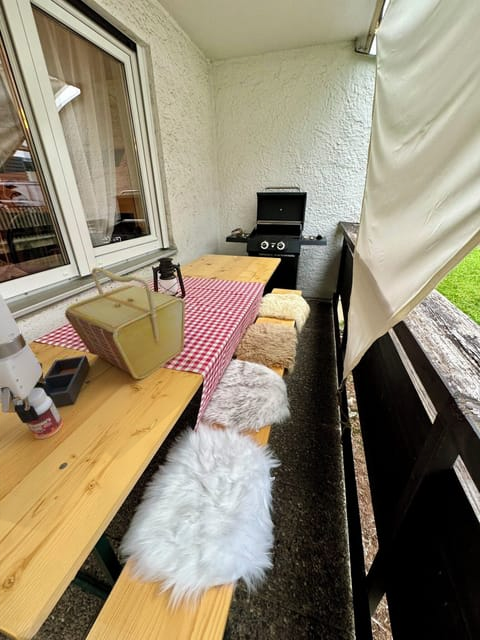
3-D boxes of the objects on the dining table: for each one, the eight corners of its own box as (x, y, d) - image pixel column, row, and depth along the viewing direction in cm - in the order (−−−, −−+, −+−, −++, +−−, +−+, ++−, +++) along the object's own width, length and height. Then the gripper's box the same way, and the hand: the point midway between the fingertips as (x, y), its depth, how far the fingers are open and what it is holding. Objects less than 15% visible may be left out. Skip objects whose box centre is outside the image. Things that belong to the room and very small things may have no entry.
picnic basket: (194, 348, 93) (182, 267, 79) (133, 392, 75) (103, 296, 60) (143, 328, 108) (125, 256, 94) (81, 360, 89) (47, 277, 75)
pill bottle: (33, 444, 61) (11, 410, 55) (35, 425, 65) (15, 392, 60) (63, 431, 63) (45, 398, 58) (63, 415, 68) (46, 382, 63)
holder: (37, 411, 70) (30, 399, 67) (60, 371, 85) (55, 360, 82) (74, 404, 71) (68, 392, 69) (90, 366, 86) (85, 355, 84)
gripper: (4, 328, 59) (36, 387, 68) (-51, 377, 44) (-1, 444, 53) (40, 323, 61) (67, 382, 69) (-1, 368, 46) (40, 436, 54)
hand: (37, 408), depth 61 cm, fingers closed on pill bottle, 6 cm apart
